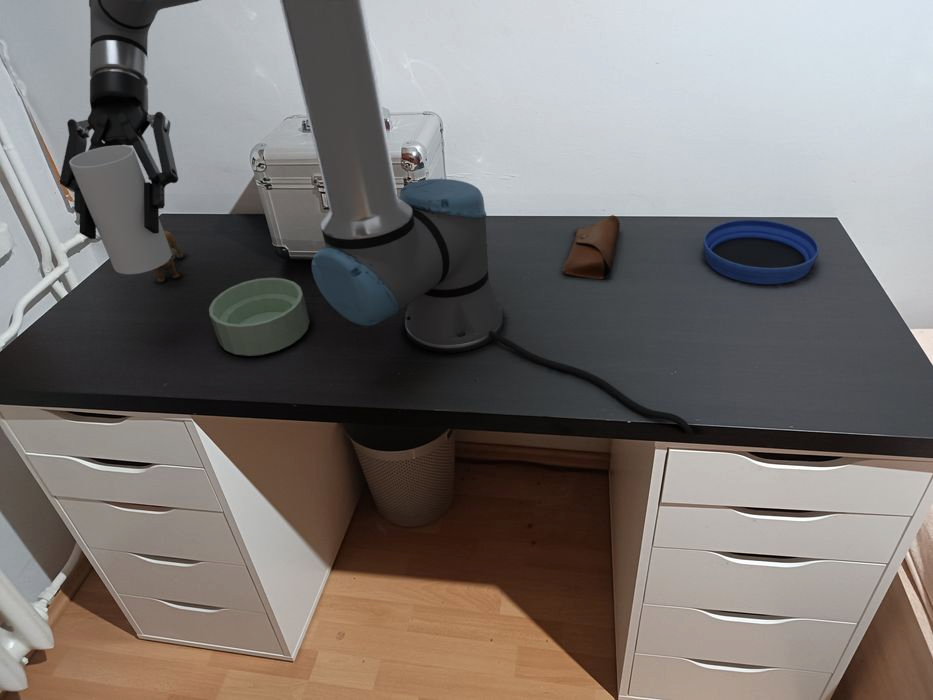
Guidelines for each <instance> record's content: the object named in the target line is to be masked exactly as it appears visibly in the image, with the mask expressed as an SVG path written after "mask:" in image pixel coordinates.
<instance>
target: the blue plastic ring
mask: <svg viewBox="0 0 933 700" xmlns="http://www.w3.org/2000/svg"><path fill="white" fill-rule="evenodd" d="M702 245H703V250H704V254H705V255H704V256H705V257H704V258H705V261H706V263H707V264H708V265H709V266H710V267H711V268H712V270H714V271H716V273H719V274H720V275H722V276H724V277H726V278H729V279H732V280H734V281H739V282H741V283H742V282H743V283H750V284H755V285H756V284H757V285H779V284H786V283H791V282H794V281H798V280H799V279H801V278H803V277H805V276H806V275H807V274H809V272H810V270H811V269H812V266H813V265H814V264H815V262H816V261H817V258H818V256H819V245H818V243H817V241H816V240H815V238H814V237H812V236H811V234H809V233H808V232H806V231H805V230H802V229H801V228H798V227H795V226H793V225H789V224H786V223H782V222H777V221H773V220H772V221H771V220H763V219H736V220H731V221H727V222H724V223H719V224H718V225H716V226H714V227H712V228H710V229H709V230H708V231H707V232H706V234H705V235H704V238H703V243H702Z"/></svg>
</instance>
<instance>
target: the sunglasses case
mask: <svg viewBox="0 0 933 700" xmlns="http://www.w3.org/2000/svg"><path fill="white" fill-rule="evenodd" d="M620 224H621V223H620V220H619V217H617V216H616V215H614V214H611V215H609V216H607V217H605V218H604V219H602V220H600V221H597V222H594V223H592V224H588V225H585V226H582V227H580V228H577V229H576V230H575V235H574V239H573V241H572V245H571V248H570V251H569V253H568V255H567V258H566V261H565V262H564V265H563V267H562V270H561V273H563V274H565V275H568V276H573V277H578V278H582V279H583V278H584V279H593V280H604V279H606V278H608V277H609V276H610V274H611V271H612V268H613V263H614V257H615V253H616V247H617V242H618V237H619V234H620V226H621V225H620Z"/></svg>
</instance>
